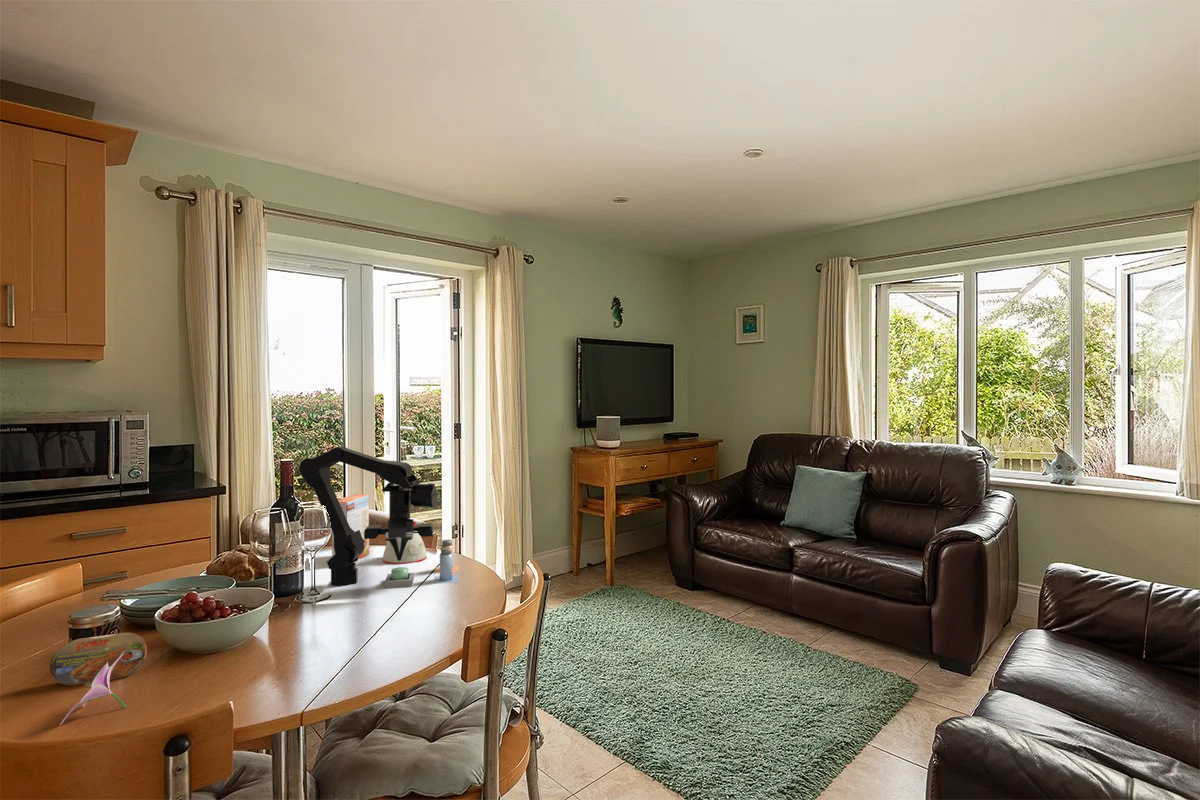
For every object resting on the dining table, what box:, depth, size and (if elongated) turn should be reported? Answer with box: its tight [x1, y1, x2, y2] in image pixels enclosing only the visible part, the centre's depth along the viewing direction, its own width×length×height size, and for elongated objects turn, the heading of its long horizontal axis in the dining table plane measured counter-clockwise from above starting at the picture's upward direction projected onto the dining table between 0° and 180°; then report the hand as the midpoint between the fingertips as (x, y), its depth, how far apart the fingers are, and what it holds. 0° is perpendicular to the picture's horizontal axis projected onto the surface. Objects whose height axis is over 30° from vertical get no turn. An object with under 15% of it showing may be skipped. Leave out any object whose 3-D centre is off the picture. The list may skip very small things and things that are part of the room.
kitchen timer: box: [382, 521, 428, 565], centre depth 203 cm, size 14×14×15 cm
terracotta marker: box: [440, 539, 454, 570], centre depth 191 cm, size 4×4×9 cm
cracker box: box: [331, 493, 370, 560], centre depth 205 cm, size 14×6×21 cm, turn 172°
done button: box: [390, 566, 409, 580], centre depth 177 cm, size 5×5×3 cm
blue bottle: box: [439, 548, 453, 581], centre depth 181 cm, size 4×4×9 cm
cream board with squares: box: [384, 565, 459, 589], centre depth 184 cm, size 22×19×3 cm
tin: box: [49, 632, 148, 686], centre depth 121 cm, size 15×3×8 cm, turn 114°
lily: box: [59, 652, 127, 726], centre depth 109 cm, size 12×12×10 cm
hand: (399, 560), depth 177 cm, fingers closed
